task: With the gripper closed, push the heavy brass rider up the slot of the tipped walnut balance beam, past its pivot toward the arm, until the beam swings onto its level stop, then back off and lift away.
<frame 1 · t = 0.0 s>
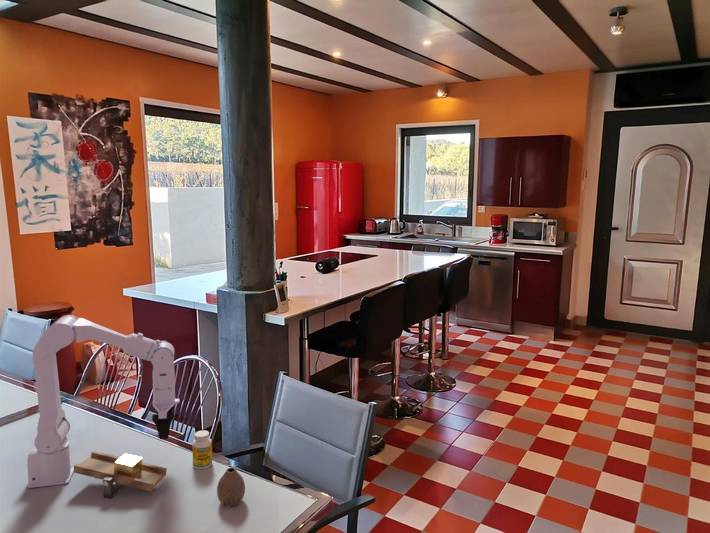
hand: (165, 432, 144), 10 cm above the table, tool pointing down, fingers open, 7 cm apart
vase: (231, 502, 130), on the table
stand: (120, 485, 135), on the table
beam: (120, 470, 135), point 4 cm above the table, hinge at 6.9°, touching rider
supplement bottle: (202, 465, 147), on the table
rider: (127, 472, 134), point 4 cm above the table, tilted 7°, touching beam
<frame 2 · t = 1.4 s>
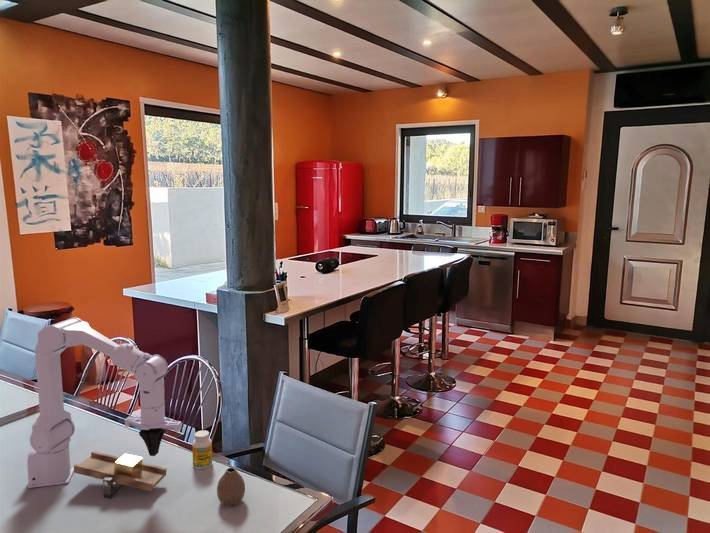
hand: (154, 454, 132), 10 cm above the table, tool pointing down, fingers closed
nothing on the table moved.
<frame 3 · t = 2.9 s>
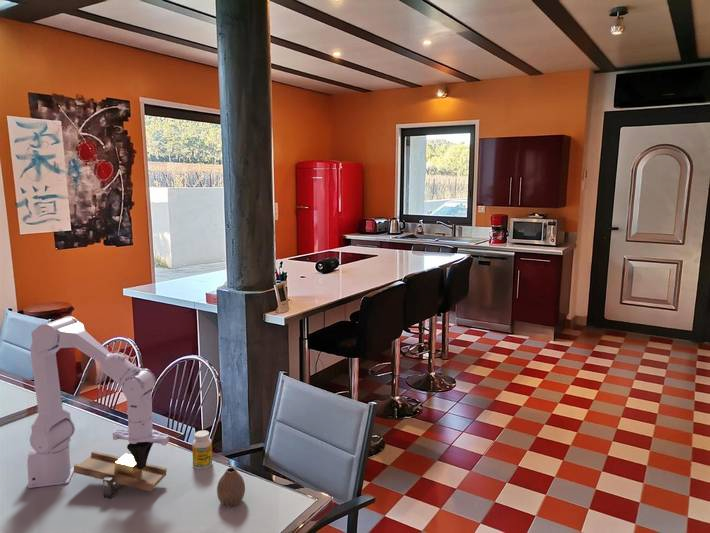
hand: (141, 467, 134), 6 cm above the table, tool pointing down, fingers closed
rider: (128, 472, 134), point 4 cm above the table, tilted 7°, touching beam, gripper
everything else where it was.
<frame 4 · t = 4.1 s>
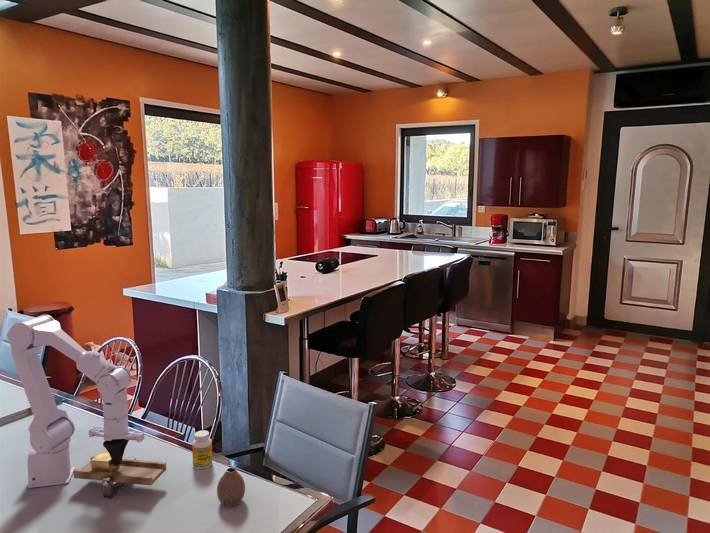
hand: (117, 464, 135), 6 cm above the table, tool pointing down, fingers closed
beam: (120, 470, 135), point 5 cm above the table, hinge at -1.4°, touching rider
rider: (106, 468, 135), point 4 cm above the table, touching beam, gripper
everything else where it was.
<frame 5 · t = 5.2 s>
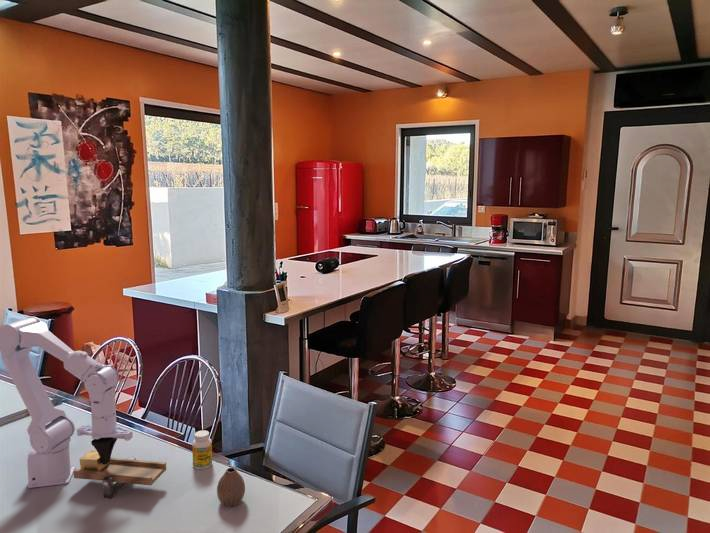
hand: (106, 462, 135), 6 cm above the table, tool pointing down, fingers closed
beam: (120, 470, 135), point 5 cm above the table, hinge at -1.4°
rider: (95, 467, 136), point 4 cm above the table, touching gripper
everything else where it was.
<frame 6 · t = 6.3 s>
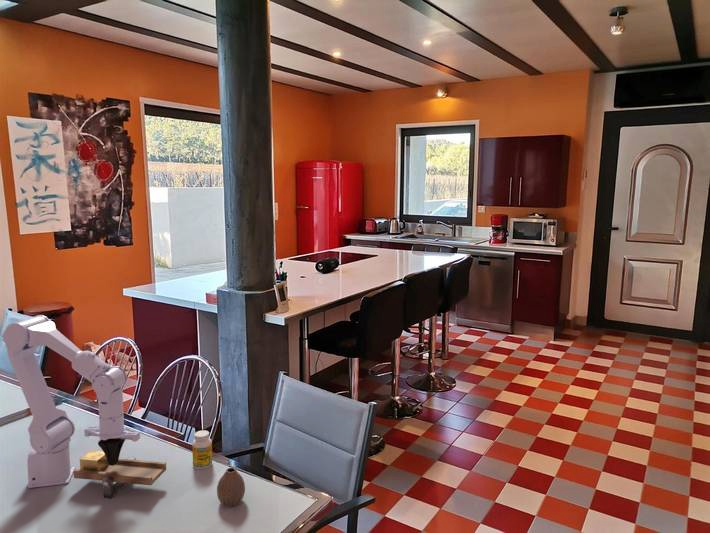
hand: (113, 463, 135), 6 cm above the table, tool pointing down, fingers closed
beam: (120, 470, 135), point 5 cm above the table, hinge at -1.4°, touching rider
rider: (95, 467, 136), point 4 cm above the table, touching beam
everything else where it was.
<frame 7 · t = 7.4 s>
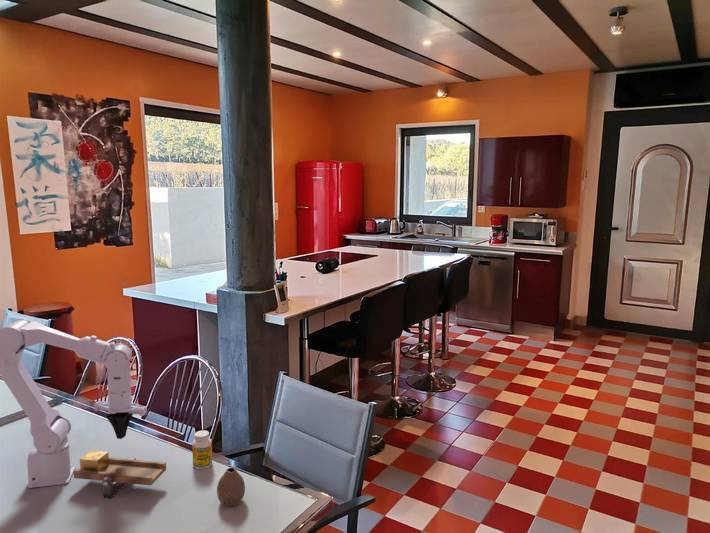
hand: (121, 437, 140), 10 cm above the table, tool pointing down, fingers closed
nothing on the table moved.
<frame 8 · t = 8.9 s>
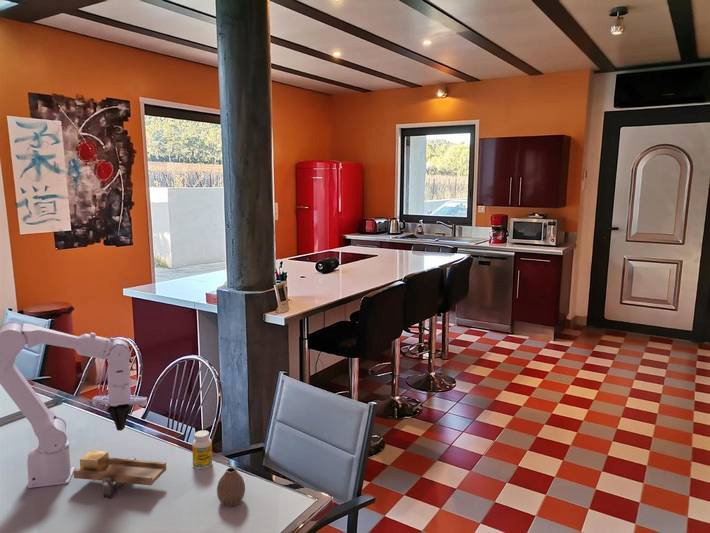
hand: (120, 428, 145), 10 cm above the table, tool pointing down, fingers closed
nothing on the table moved.
at the end: beam at -1° (first picture: +7°); rider 0.4 cm from the target spot on the beam, point 0.3 cm above the beam's base; rider tilted 1° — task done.
